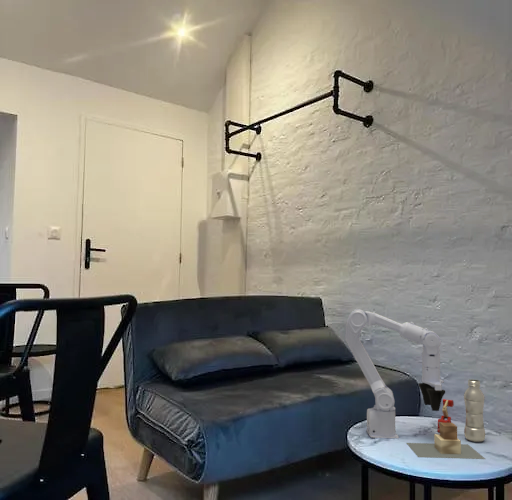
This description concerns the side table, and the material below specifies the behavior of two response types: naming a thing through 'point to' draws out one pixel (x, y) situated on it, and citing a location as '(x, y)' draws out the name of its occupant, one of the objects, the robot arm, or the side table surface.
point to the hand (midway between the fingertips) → (431, 407)
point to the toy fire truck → (445, 413)
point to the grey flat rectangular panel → (431, 452)
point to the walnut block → (448, 431)
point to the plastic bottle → (474, 412)
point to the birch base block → (447, 445)
